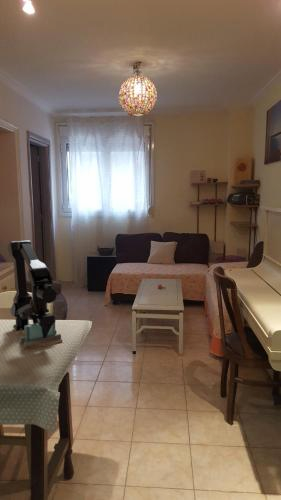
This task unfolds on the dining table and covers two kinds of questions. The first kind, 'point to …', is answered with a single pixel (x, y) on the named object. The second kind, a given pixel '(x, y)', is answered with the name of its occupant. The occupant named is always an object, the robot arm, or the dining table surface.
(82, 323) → the dining table surface
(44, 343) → the track
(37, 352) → the dining table surface
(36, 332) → the door panel
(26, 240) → the robot arm
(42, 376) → the dining table surface
